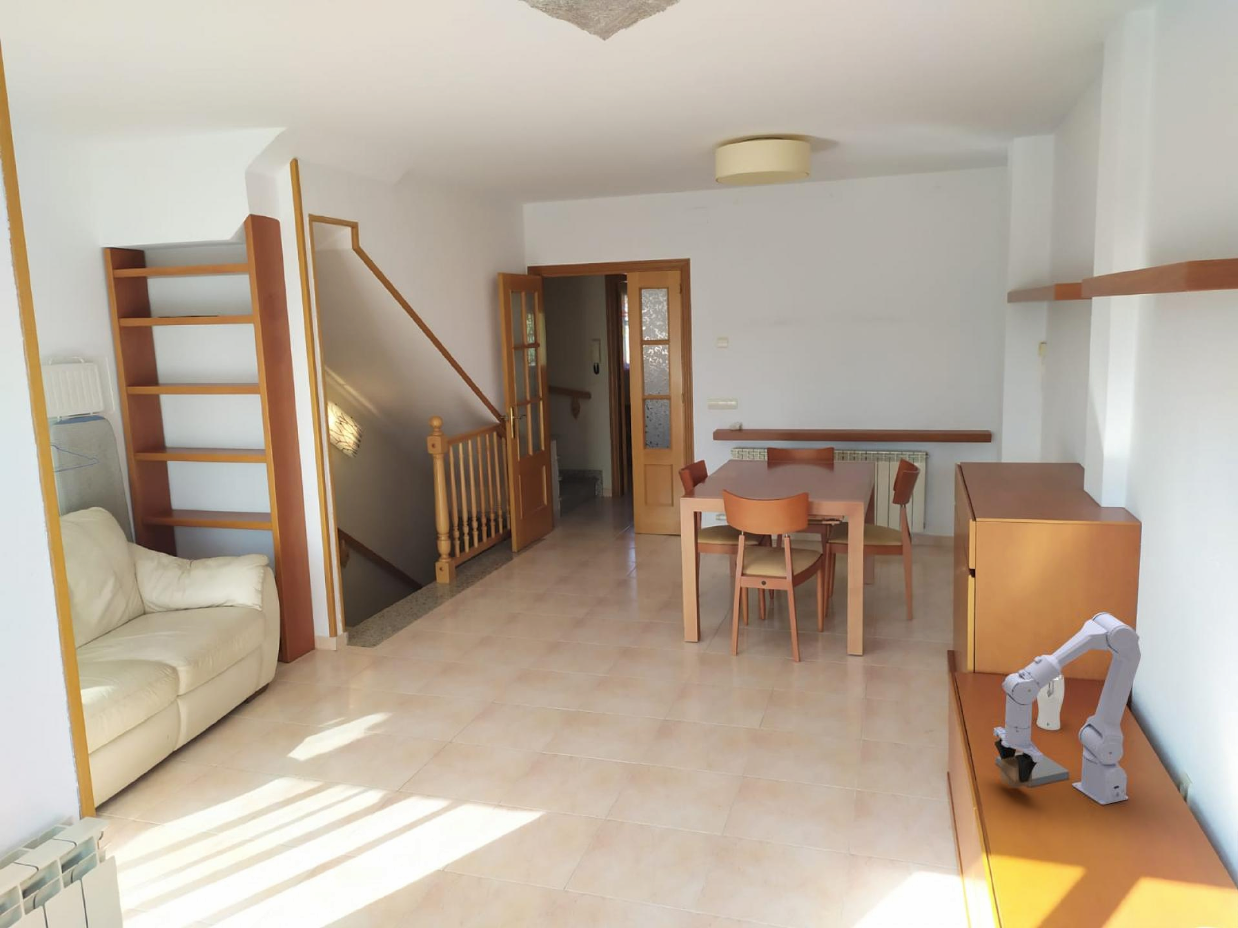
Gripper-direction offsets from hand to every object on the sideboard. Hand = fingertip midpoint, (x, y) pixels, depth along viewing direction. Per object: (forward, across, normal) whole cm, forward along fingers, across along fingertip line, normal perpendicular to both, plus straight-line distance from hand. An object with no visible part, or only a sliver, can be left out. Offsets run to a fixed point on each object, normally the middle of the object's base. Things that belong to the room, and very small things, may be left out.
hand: (1016, 775), depth 217 cm
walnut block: (+2, 0, 0) cm, 2 cm away
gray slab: (+5, -7, +11) cm, 14 cm away
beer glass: (+5, -26, +33) cm, 42 cm away
